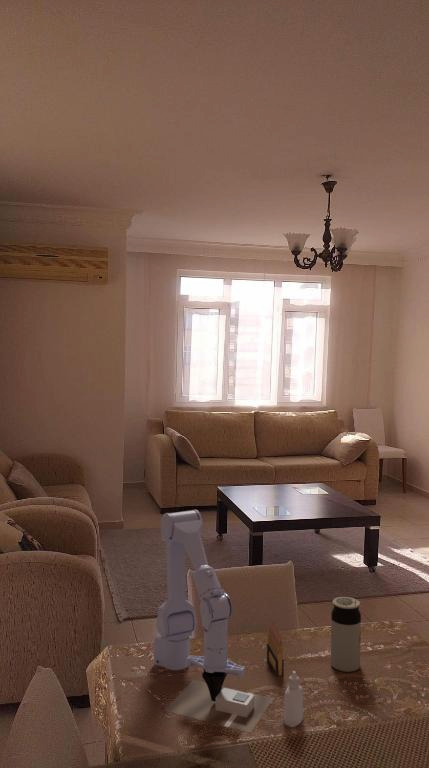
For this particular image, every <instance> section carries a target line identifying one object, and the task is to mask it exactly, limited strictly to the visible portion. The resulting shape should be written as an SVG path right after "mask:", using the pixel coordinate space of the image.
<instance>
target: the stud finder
mask: <svg viewBox="0 0 429 768" xmlns="http://www.w3.org/2000/svg"><path fill="white" fill-rule="evenodd" d="M227 688H228V687H227ZM227 688H223V689H222V691H221V692H220V693H219V694H218V695H217V697H216V710H218V711H222V712H226V713H230V714H234V715H238V716H242V717H246V718H247V716H248V715H249V714H250V712H251V711H252V709H253V708H254V695H253V694H254V693H252V694H248V693H249V692H248V693H244V692H245V691H244V692H240V691H241V690H240V691H236V690H237V689H235V690H231V689H232V688H231V689H227Z"/></svg>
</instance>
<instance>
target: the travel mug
mask: <svg viewBox="0 0 429 768" xmlns="http://www.w3.org/2000/svg"><path fill="white" fill-rule="evenodd" d="M332 604H333V608H332V610H331V612H330V616H331V617H330V619H331V620H330V621H331V622H330V625H331V626H330V627H331V628H330V666H332V667H333V668H334V669H336V670H338V671H340V672H347V673H349V672H355V671H357V670H359V669H360V667H361V639H362V638H361V635H362V631H361V629H362V614H361V612H360V610H359V609H360V606H361V602H360V601H359V600H358V599H356V598H353V597H348V596H339V597H335V598H334V599H333V600H332Z"/></svg>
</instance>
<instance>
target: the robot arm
mask: <svg viewBox="0 0 429 768" xmlns="http://www.w3.org/2000/svg"><path fill="white" fill-rule="evenodd" d="M202 518H203V517H202V515H201V512H200V511H199V510H197V509H192V510H184V511H177V512H165V513H163V515H162V517H161V518H160V537H161V541H162V542H165V547H166V549H165V550H166V551H165V553H166V584H167V587H166V588H167V599H165V601H164V602H163V603H162V604H161V605H159V607H158V608H157V617H156V629H157V634H156V636H155V638H154V642H153V667H156V666H158V667H159V666H160V667H162V668H165V669H167V670H171V671H181V670H184V669H186V668H188V667H192V666H193V667H197V668H201V669H203V672H202V673H201V674H202V675H201V676H202V679H203V680H204V682H205V683H206V684H207V686H208V689H209V692H210V696H211V701H215V702H216V697H217V695H218V694H219V693H220V692H221V688H222V687H223V685H224V682H225V680H226V679H227V678H226V677H227V675H231V676H232V675H233V676H237V678H238V679H239V678H240V679H243V677H244V676H245V673H246V671H245V670H246V668H245V666H242V665H239V664H237V663H235V662H233V661H231V660H229V659H228V629H229V627H228V626H229V625H228V624H229V623H228V619H230V618H231V617H232V615H233V605H232V600H231V598H230V596H229V595H228V593H226V590H224V589H222V587H221V583H220V581H219V579H218V575H217V573H216V570H215V568H214V567H212V566H210V565H209V564H208V559H207V556H206V552H205V548H204V544H203V541H202V537H201V535H202V533H203V528H204V527H203V525H204V524H203V519H202ZM185 551H186V553H187V556H188V557H189V560H190V562H191V564H192V566H193V569H194V572H193V575H192V580H193V582H194V585H195V587H196V591H197V594H198V598H199V599H200V604H199V613H200V618H201V626H202V628H203V655H201V656H200V655H191V651H190V649H191V647H190V646H191V644H190V642H191V636H193V632H195V630H196V628H197V623H198V622H197V615H196V613H195V606H194V604H193V603H192V602H190V601H189V599H188V600H187V591H186V588H187V587H186V564H185V563H186V558H185V556H186V555H185Z"/></svg>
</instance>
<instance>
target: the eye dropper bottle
mask: <svg viewBox="0 0 429 768" xmlns="http://www.w3.org/2000/svg"><path fill="white" fill-rule="evenodd" d="M291 673H292V674H291V675H289V677H288V686H287V687H286V689H285V692H284V697H283V698H284V699H283V702H284V703H283V705H284V706H283V707H284V708H283V724H284V725H285V726H287V727H289V728H295V727H297V726H299V725H300V724H301V723H302V721H303V718H304V687H303V686H302V685H300V677H299V676H298V675H297V673H296V671H295V670H293V671H292V672H291Z"/></svg>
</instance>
